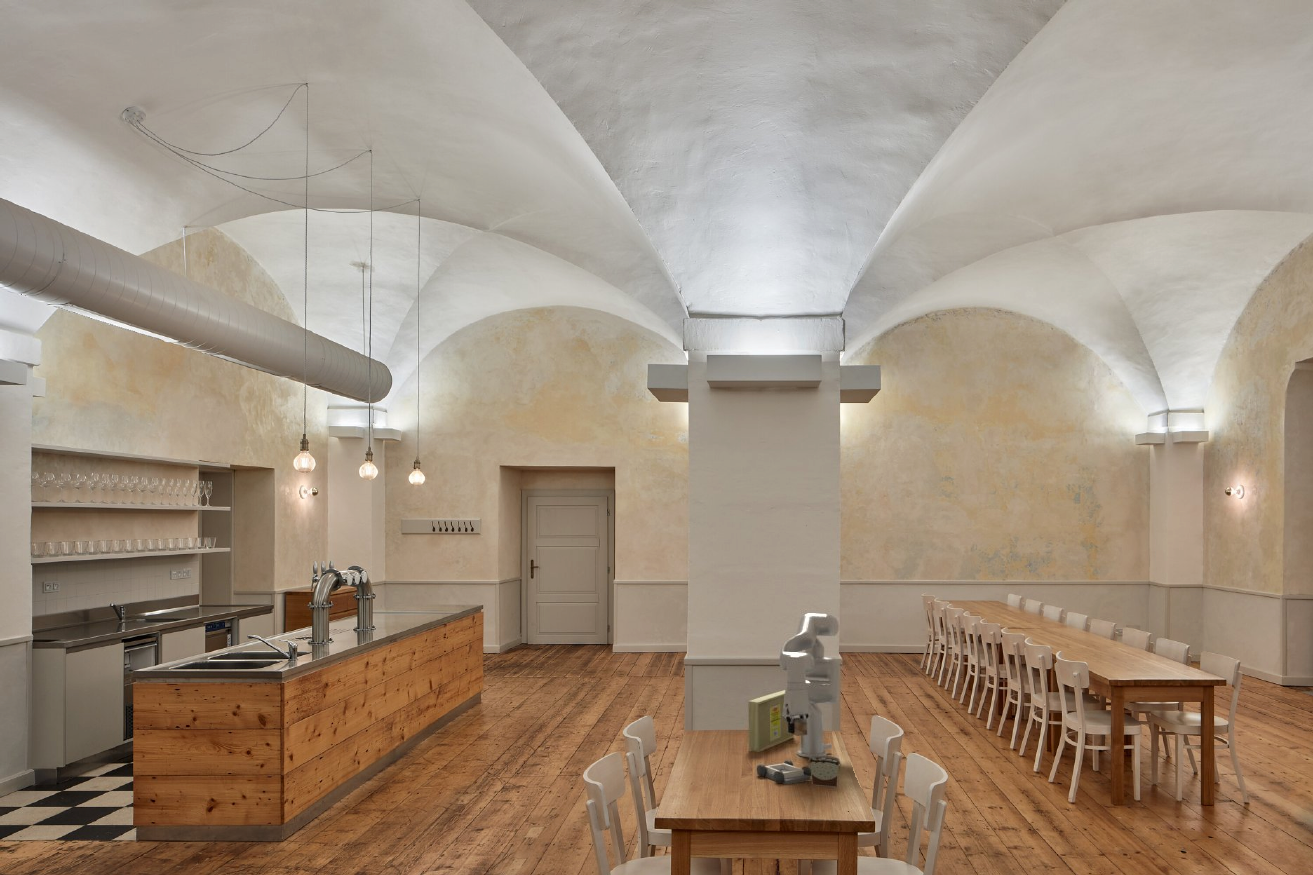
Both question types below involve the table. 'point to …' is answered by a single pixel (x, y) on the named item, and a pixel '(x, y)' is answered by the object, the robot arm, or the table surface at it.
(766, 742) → the flat product box
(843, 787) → the table surface
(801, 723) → the grey block on wood
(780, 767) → the chassis
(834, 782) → the food container
